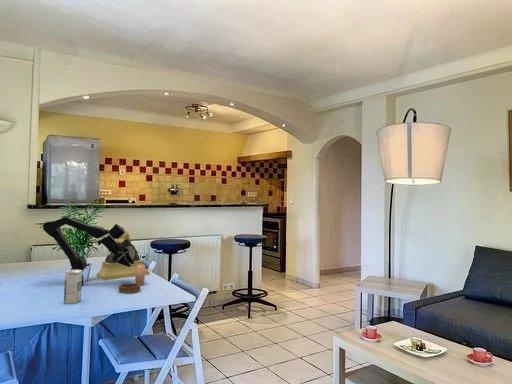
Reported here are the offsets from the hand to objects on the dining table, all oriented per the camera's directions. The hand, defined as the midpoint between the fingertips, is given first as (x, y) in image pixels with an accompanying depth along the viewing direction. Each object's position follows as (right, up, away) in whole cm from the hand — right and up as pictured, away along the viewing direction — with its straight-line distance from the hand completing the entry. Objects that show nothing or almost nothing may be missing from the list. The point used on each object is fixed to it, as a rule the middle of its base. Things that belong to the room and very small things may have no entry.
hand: (132, 265), depth 212 cm
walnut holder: (+3, -11, -13) cm, 18 cm away
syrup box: (-16, -11, -35) cm, 40 cm away
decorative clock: (-13, -11, +24) cm, 29 cm away
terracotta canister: (+4, -11, +1) cm, 12 cm away
